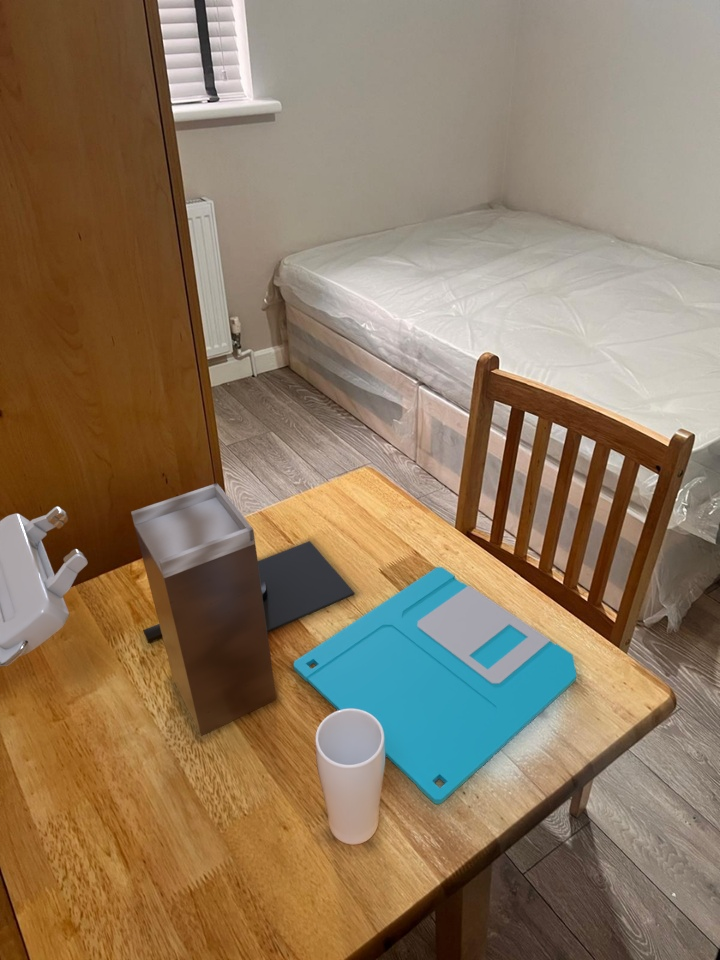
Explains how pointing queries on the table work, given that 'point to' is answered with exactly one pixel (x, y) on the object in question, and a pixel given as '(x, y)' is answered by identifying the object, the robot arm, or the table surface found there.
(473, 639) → the diskette
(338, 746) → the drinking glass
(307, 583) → the mat
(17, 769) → the table surface
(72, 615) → the table surface
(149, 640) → the lever handle
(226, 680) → the stand
